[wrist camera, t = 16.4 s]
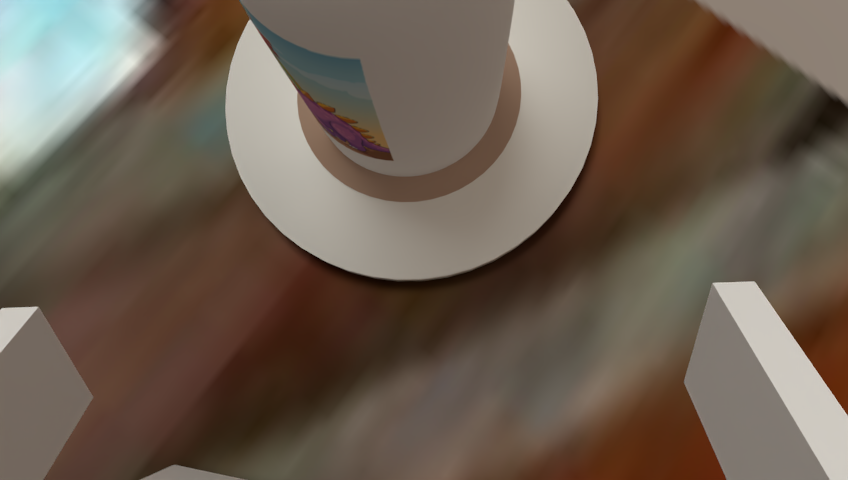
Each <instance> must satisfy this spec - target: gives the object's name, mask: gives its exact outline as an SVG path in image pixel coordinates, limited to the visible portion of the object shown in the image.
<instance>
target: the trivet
mask: <svg viewBox="0 0 848 480" xmlns="http://www.w3.org/2000/svg"><path fill="white" fill-rule="evenodd" d="M597 105H598V90H597V75H596V70H595V65H594V60H593V55H592V51H591V48H590V45H589V42H588V40H587V37H586V34H585V31H584V29H583V27H582V25H581V23H580V21H579V19H578V17H577V16H576V14H575V12H574V10H573V8H572V7H571V6H570V4H569V3H568V1H567V0H515V2H514V9H513V16H512V23H511V29H510V35H509V41H508V47H507V54H506V60H505V66H504V72H503V78H502V84H501V89H500V95H499V99H498V103H497V107H496V111H495V114H494V117H493V119H492V122H491V124H490V126H489V128H488V129H487V131H486V133H485V134H484V136H483V137H482V139H481V140H480V141H479V142H478V144H477V145H476V146H475V147H474V148H473V149H472V150H471V151H470V152H469V153H468V154H466V155H465V156H464V157H463V158H461V159H460V160H458V161H457V162H455V163H453V164H452V165H450V166H448V167H446V168H444V169H441V170H439V171H436V172H433V173H429V174H425V175H420V176H411V177H399V176H390V175H384V174H380V173H377V172H374V171H371V170H368V169H366V168H364V167H362V166H360V165H358V164H357V163H355V162H354V161H352V160H351V159H349V158H348V157H347V156H345V155H344V154H343V153H342V152H341V151H340V150H339V149H338V148H337V147H336V145H335V144H334V143H333V142H332V141H331V139H330V138H329V137H328V136H327V134H326V133H325V131H324V130H323V129H322V127H321V126H320V124H319V123H318V121H317V120H316V118H315V117H314V115H313V114H312V112H311V111H310V109H309V108H308V106H307V105H306V103H305V102H304V100H303V99H302V97H301V96H300V94H299V93H298V91H297V90H296V88H295V87H294V85H293V84H292V82H291V81H290V79H289V78H288V76H287V75H286V74H285V72H284V71H283V69H282V67H281V66H280V64H279V63H278V61H277V60H276V58H275V57H274V55H273V54H272V52H271V50H270V49H269V47H268V46H267V44H266V43H265V41H264V40H263V38H262V37H261V35H260V34H259V32H258V30H257V29H256V27H255V26H254V24H253V23H252V21H251V20H249V22H248V23H247V25H246V27H245V29H244V32H243V34H242V36H241V38H240V40H239V42H238V44H237V47H236V50H235V54H234V57H233V60H232V63H231V66H230V72H229V77H228V82H227V88H226V107H225V112H226V124H227V134H228V138H229V143H230V147H231V152H232V156H233V158H234V161H235V164H236V166H237V169H238V172H239V174H240V177H241V179H242V181H243V182H244V184H245V186H246V188H247V190H248V192H249V193H250V195H251V197H252V198H253V200H254V201H255V203H256V204H257V205H258V207H259V208H260V209H261V211H262V212H263V213H264V215H265V216H266V217H267V218H268V219H269V220H270V221H271V222H272V223H273V224H274V225H275V226H276V227H277V228H278V229H279V230H280V231H281V232H282V233H283V234H284V235H285V236H287V237H288V238H289V239H291V240H292V241H293V242H294V243H296V244H297V245H298V246H300V247H301V248H302V249H304V250H306V251H308V252H309V253H311V254H313V255H315V256H316V257H318V258H320V259H322V260H323V261H325V262H327V263H329V264H331V265H334V266H336V267H338V268H341V269H343V270H346V271H348V272H351V273H354V274H358V275H362V276H366V277H370V278H374V279H381V280H390V281H398V282H405V281H429V280H436V279H443V278H448V277H452V276H456V275H459V274H463V273H466V272H470V271H473V270H475V269H477V268H480V267H482V266H484V265H487V264H489V263H491V262H494V261H495V260H497V259H499V258H501V257H502V256H504V255H506V254H507V253H509V252H511V251H512V250H514V249H515V248H517V247H518V246H519V245H521V244H522V243H523V242H524V241H526V240H527V239H528V238H529V237H531V236H532V235H533V234H534V233H535V232H536V231H537V230H538V229H539V228H540V227H541V226H542V225H543V224H544V223H545V222H546V221H547V220H548V219H549V218H550V217H551V216H552V214H553V213H554V212H555V210H556V209H557V208H558V206H559V205H560V204H561V202H562V201H563V200H564V198H565V197H566V196H567V194H568V193H569V191H570V190H571V188H572V186H573V185H574V183H575V181H576V179H577V177H578V175H579V174H580V172H581V170H582V168H583V165H584V162H585V160H586V157H587V154H588V152H589V149H590V147H591V143H592V138H593V134H594V129H595V125H596V117H597Z"/></svg>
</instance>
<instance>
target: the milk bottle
mask: <svg viewBox="0 0 848 480" xmlns="http://www.w3.org/2000/svg"><path fill="white" fill-rule="evenodd" d="M239 1H240V3H241V4H242V6H243V8H244V10H245V11H246V13H247V15H248V16H249V18H250V20H251V21H252V23H253V24H254V26H255V27H256V29H257V30H258V32H259V34H260V35H261V37H262V38H263V40H264V41H265V43H266V44H267V46H268V47H269V49H270V50H271V52H272V54H273V55H274V57H275V58H276V60H277V61H278V63H279V64H280V66H281V67H282V69H283V71H284V72H285V74H286V75H287V76H288V78H289V79H290V81H291V82H292V84H293V85H294V87H295V88H296V90H297V91H298V93H299V94H300V96H301V97H302V99H303V100H304V102H305V103H306V105H307V106H308V108H309V109H310V111H311V112H312V114H313V115H314V117H315V118H316V120H317V121H318V123H319V124H320V126H321V127H322V129H323V130H324V131H325V133H326V134H327V136H328V137H329V138H330V139H331V141H332V142H333V143H334V144H335V145H336V147H337V148H338V149H339V150H340V151H341V152H342V153H343V154H344V155H345V156H347V157H348V158H349V159H351V160H352V161H354V162H355V163H357V164H358V165H360V166H362V167H364V168H366V169H368V170H371V171H374V172H377V173H380V174H384V175H390V176H399V177H411V176H420V175H425V174H429V173H433V172H436V171H439V170H441V169H444V168H446V167H448V166H450V165H452V164H453V163H455V162H457V161H458V160H460V159H461V158H463V157H464V156H465V155H466V154H468V153H469V152H470V151H471V150H472V149H473V148H474V147H475V146H476V145H477V144H478V142H479V141H480V140H481V139H482V137H483V136H484V134H485V133H486V131H487V129H488V128H489V126H490V124H491V122H492V119H493V117H494V114H495V111H496V107H497V103H498V99H499V95H500V89H501V84H502V78H503V72H504V66H505V60H506V54H507V47H508V41H509V35H510V29H511V23H512V16H513V9H514V2H515V0H239Z"/></svg>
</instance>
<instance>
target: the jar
mask: <svg viewBox="0 0 848 480" xmlns="http://www.w3.org/2000/svg"><path fill="white" fill-rule="evenodd" d="M140 480H246V479H241V478H236V477H232V476H227V475H222V474H217V473H212V472H207V471H203V470H198V469H193V468H188V467H183V466H179V465H172V466H169V467H167V468H165V469H163V470H160V471H158V472H156V473H154V474H151V475H149V476H147V477H145V478H143V479H140Z"/></svg>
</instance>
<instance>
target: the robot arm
mask: <svg viewBox="0 0 848 480" xmlns="http://www.w3.org/2000/svg"><path fill="white" fill-rule="evenodd" d="M684 383H685V386H686V388H687V390H688V392H689V395H690V397H691V399H692V402H693V404H694V406H695V408H696V411H697V413H698V415H699V417H700V420H701V422H702V424H703V427H704V429H705V431H706V433H707V436H708V438H709V440H710V443H711V445H712V447H713V449H714V452H715V454H716V456H717V458H718V461H719V463H720V465H721V468H722V470H723V472H724V474H725V477H726V479H727V480H848V416H847V414H846V413H845V411H844V410H843V409H842V407H841V406H840V404H839V403H838V401H837V400H836V398H835V397H834V396H833V394H832V393H831V391H830V390H829V388H828V387H827V385H826V384H825V383H824V381H823V380H822V378H821V377H820V375H819V374H818V372H817V371H816V370H815V368H814V367H813V365H812V364H811V362H810V361H809V359H808V358H807V357H806V355H805V354H804V352H803V351H802V349H801V348H800V346H799V345H798V343H797V342H796V341H795V339H794V338H793V336H792V335H791V333H790V332H789V330H788V329H787V328H786V326H785V325H784V323H783V322H782V320H781V319H780V317H779V316H778V315H777V313H776V312H775V310H774V309H773V307H772V306H771V304H770V303H769V302H768V300H767V299H766V297H765V296H764V294H763V293H762V291H761V290H760V289H759V287H758V286H757V284H756V283H755V281H754V282H726V283H712V286H711V290H710V293H709V297H708V300H707V304H706V307H705V311H704V314H703V317H702V321H701V324H700V328H699V331H698V335H697V338H696V342H695V345H694V349H693V352H692V355H691V359H690V362H689V366H688V369H687V373H686V376H685V380H684ZM92 399H93V396H92V394H91V393H90V391H89V389H88V388H87V386H86V384H85V383H84V381H83V379H82V378H81V376H80V374H79V373H78V371H77V369H76V368H75V366H74V364H73V363H72V361H71V359H70V358H69V356H68V355H67V353H66V351H65V350H64V348H63V346H62V345H61V343H60V341H59V340H58V338H57V336H56V335H55V333H54V331H53V330H52V328H51V326H50V325H49V323H48V321H47V320H46V318H45V316H44V315H43V313H42V311H41V310H40V308H39V307H19V308H2V309H1V310H0V480H43V479H44V478H45V476H46V474H47V473H48V471H49V470H50V468H51V466H52V465H53V463H54V461H55V460H56V458H57V456H58V455H59V453H60V451H61V450H62V448H63V446H64V445H65V443H66V442H67V440H68V438H69V437H70V435H71V433H72V432H73V430H74V428H75V427H76V425H77V423H78V422H79V420H80V418H81V417H82V415H83V413H84V412H85V410H86V409H87V407H88V405H89V404H90V402H91V400H92Z"/></svg>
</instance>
